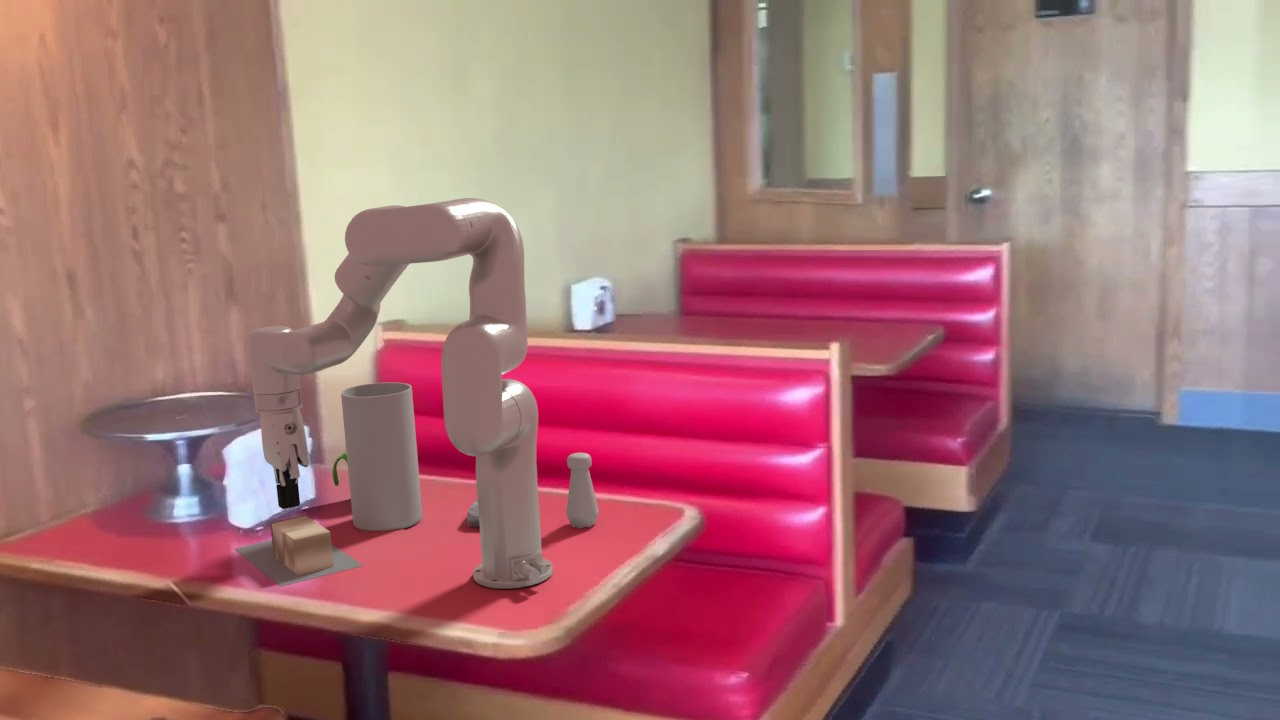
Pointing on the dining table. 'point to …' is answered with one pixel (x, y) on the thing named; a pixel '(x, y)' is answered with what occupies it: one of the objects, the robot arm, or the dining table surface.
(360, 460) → the cylinder vase
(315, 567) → the birch block
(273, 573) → the slate mat
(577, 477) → the salt shaker
